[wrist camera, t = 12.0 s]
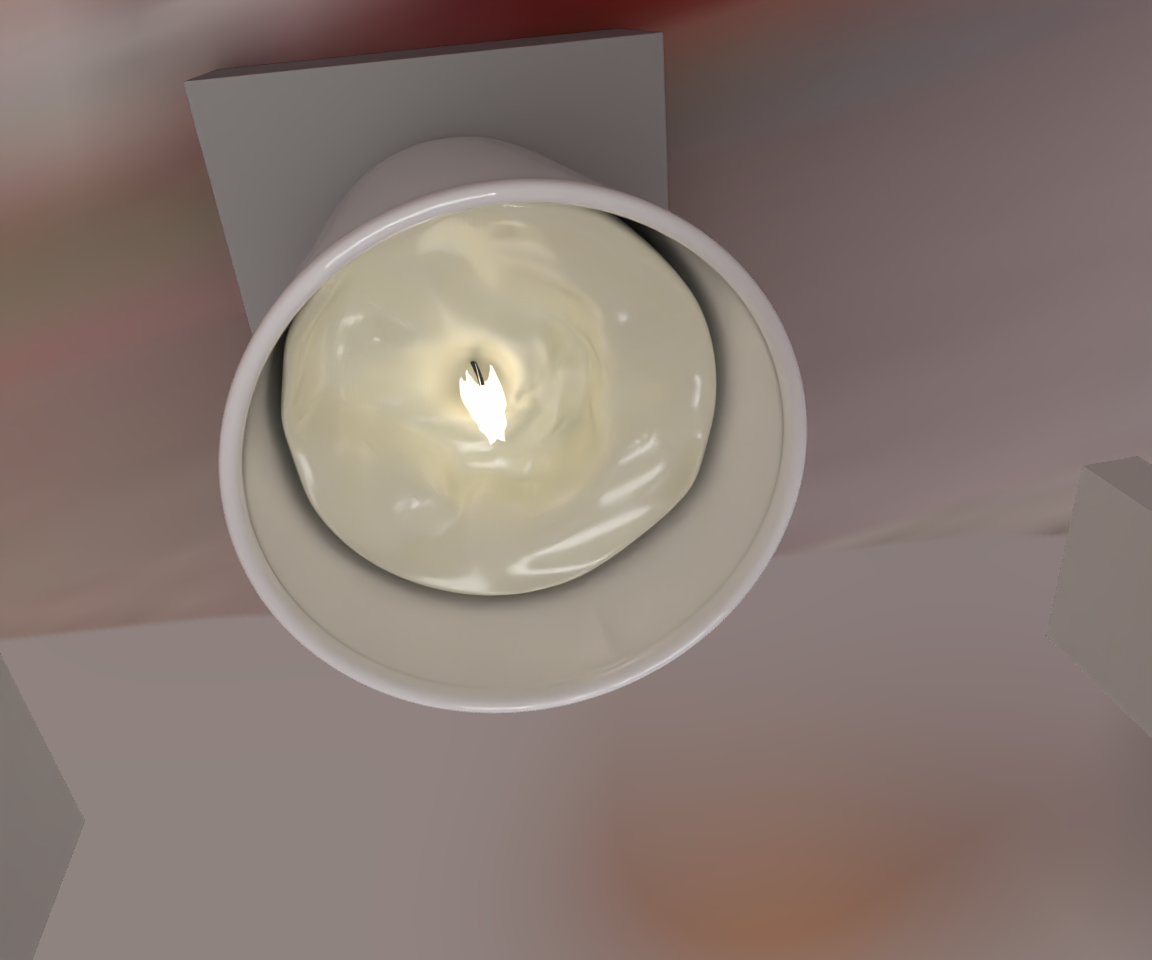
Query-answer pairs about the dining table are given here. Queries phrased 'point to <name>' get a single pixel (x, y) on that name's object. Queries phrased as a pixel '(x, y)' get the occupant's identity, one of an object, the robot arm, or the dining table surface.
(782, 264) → the dining table surface
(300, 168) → the block
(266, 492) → the candle holder
